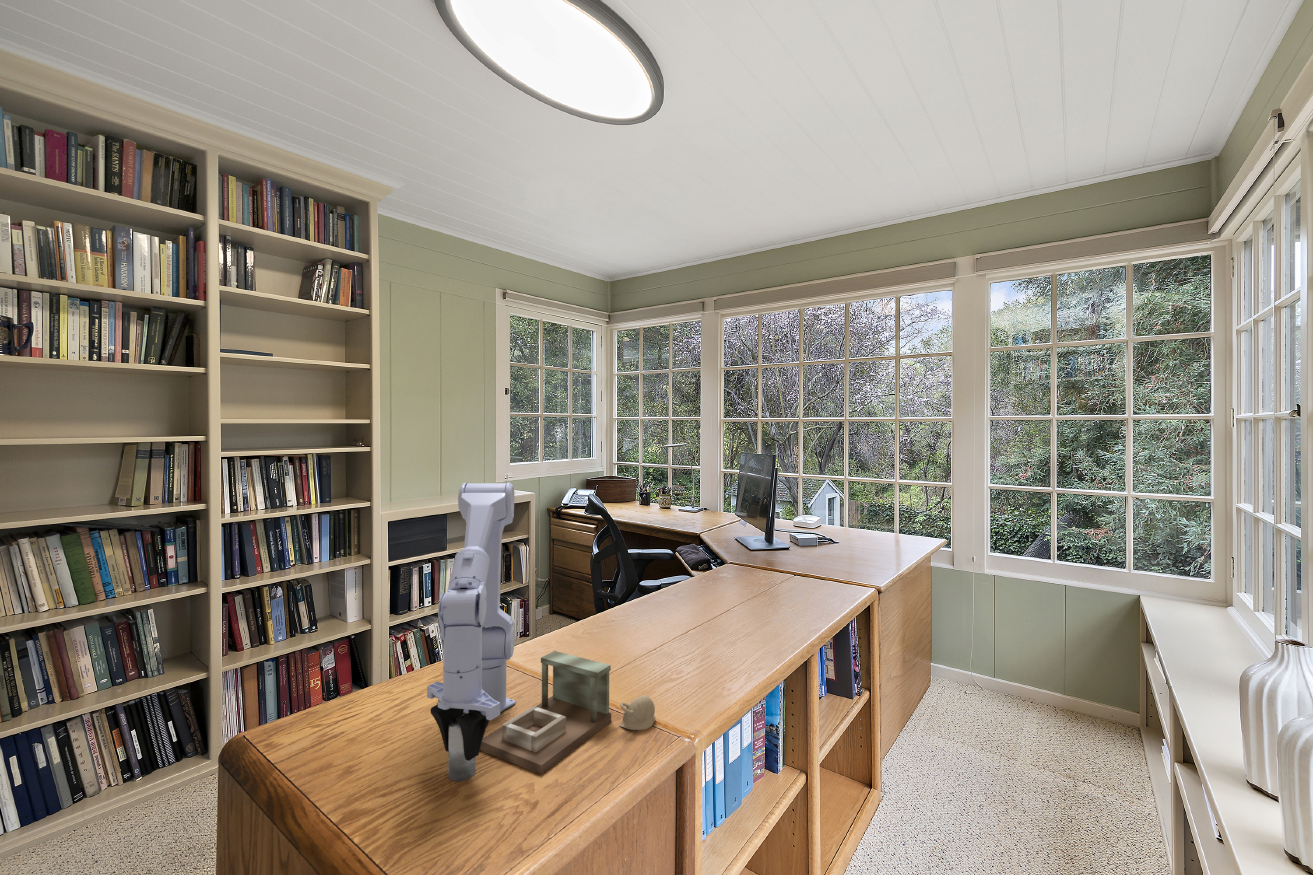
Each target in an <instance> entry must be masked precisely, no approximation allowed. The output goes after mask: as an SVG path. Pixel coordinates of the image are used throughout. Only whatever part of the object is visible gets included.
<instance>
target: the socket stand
mask: <svg viewBox="0 0 1313 875" xmlns="http://www.w3.org/2000/svg"><path fill="white" fill-rule="evenodd" d="M540 663H541V702H540V703H538V704H537V705H535V706H534V705H533V706H531V707H529V708H527V709H526V710H524V711H523V712H521V713H519V714H518V715H516V716H514V717H513V718H511V719H509V720H507V721H506V722H504V723H503V724H501V725H502V726H500V727H498V728H497V729H495V730H494V731H492V732H490V733H489V734H487V735H485V736H483V739H482V743H481V747H480V751H482V752H484V753H487V754H489V755H491V756H495V757H497V758H499V759H500V760H501V759H502V760H504V761H506V762H509V763H512V764H514V765H516V766H519V767H521V768H524V769H525V770H529V771H531V772H533V773H536V774H538V775H541V776H542V775H543V774H544V773H545V774H546V772H547V771H549V770H550V769H551V768H552V767H553V766H555V765H556V764H558V763H559V762H560V761H561V760H563V759H564V758H565V757H568V755H569V754H570V753H572V752H573V751H575V750H576V749H577V748H578V747H580V746H581V745H583V744H584V743H585V742H586V741H587V740H589V739H590V738H591V737H592V736H594V735H595V734H597V733H598V732H600V731H601V729H603V728H605V727H606V726H607V725H609V724H610V723H611V722H612V712H610V672H611V667H612V666H611V664H608V663H604V662H600V661H595V660H592V659H590V658H589V659H588V658H584V657H581V656H576V655H573V654H568V653H565V652H561V651H558V650H557V651H556V650H553V651H552V652H550V653H547V654H545V655H543V656H541V657H540ZM549 666H551V667H552V696H550V697H549Z"/></svg>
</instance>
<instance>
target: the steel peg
mask: <svg viewBox="0 0 1313 875" xmlns="http://www.w3.org/2000/svg"><path fill="white" fill-rule="evenodd" d="M457 718H459V717H457ZM457 718H455V719H453V720H451V721H450V722H449V752H447V753H448V755H447V756H448V759H447V760H448V763H447V764H448V768H447V770H448V771H447V772H448V775H447V776H448V777H447V778H448V779H449V780H450V781H452V782H463V781H468V780H469V779H470V778H472V777H474V775H475V774H476V757H477V756H476V757H474V758H473V759H471V760H470V761H468V760H466V759H465V755H464V741H463V735H462V731H461V728H460V726H459V724H458V722H457Z"/></svg>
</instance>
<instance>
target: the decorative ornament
mask: <svg viewBox="0 0 1313 875" xmlns="http://www.w3.org/2000/svg"><path fill="white" fill-rule="evenodd" d="M619 707H620V708H621V709H622V711H624V712H623V714H622V715H623V716H622V722H620V724H619V727H620V728H624V729H628V730H632V731H646V730H648V729H650V728H651V727H652V726H653V724H654V723H655V720H656V715H655V709H656V707H655V704H654V701H653V699H652V698H651V697H650V696H648V695H646V694H645V695H640V696H638V697H635V698H634V699H632V700H631V701H630V702H629V703H626V702H624V701H623V702H620V703H619Z"/></svg>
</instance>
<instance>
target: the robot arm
mask: <svg viewBox="0 0 1313 875" xmlns="http://www.w3.org/2000/svg"><path fill="white" fill-rule="evenodd" d="M457 503H458V504H457V506H458V510H459V512H460V514H461V517H462V519H464V521H465V523H466V524H465V536H464V544H463V549H461V550H459V551H458V552H457V553H456V554H455V557H454V559H453V563H452V568H451V574H450V577H449V581H448V586H447V591H446V592H442V594H441V595H440V597H439V598H440V599H439V601H438V602H439V603H438V610H437V611H438V612H437V613H438V614H437V615H438V618H437V619H438V625H439V628H440V639H441V640H443V641H442V642H443V646H442V647H443V650H442V652H443V653H442V655H443V656H442V657H443V658H442V659H443V660H442V661H443V662H442V663H443V665H442V667H443V668H442V672H443V673H442V676H443V677H442V682H441V681H435V682H433V683H430V684H428V685H427V686H426V697H427V699H430V700H433V699H434V698H435V699H437V700H438V701H437V703H436V705H433V706H431V708H430V714H431V716H432V717H433V718H434V720H435V722H436V724H437V727H438V729H439V732H440V734H441V738H442V743H443V746H444V750H445V751H446V752H447V753H449V722H450V721H451V720H453V719H455V718H457V717H459V718H457V722H458V724H459V726H460V728H461V731H462V735H463V741H464V755H465V759H466V760H468V761H470V760H471V759H473V758H474V757H479V755H480V751H481V750H480V747H481V743H482V739H483V738H484V737H485V736H484V735H485V732H486V730H487V727H488V726H489V724H490V721H492V720H494V719H496V718H498V717H499V716H501V712H504V711H506V710H507V709H508V708H510V707H512V706H514V705H515V704H516V703H517V700H516V699H515V700H514V699H511V698H509V697H507V660H508V661H509V660H510V659H511V658H512V657H513V655H514V650H515V628H514V626H515V622H514V619H513V617H512V616H511V615H510V614H508V613H506V612H505V611H504V610H502V609H501V608H500V607H501V606H500V604H501V580H502V579H501V575H502V574H501V573H502V542H503V540H502V537H503V533H504V528H505V527H506V526H507V525H510V524H512V523H513V520H514V518H515V517H514V516H515V487H514V484H512V482H500V483H499V482H496V483H494V482H489V483H488V482H483V483H482V482H480V483H479V482H476V483H475V482H472V483H471V482H470V483H469V482H463V483H462V484H461V485H460V487H459V489H458V498H457Z"/></svg>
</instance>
